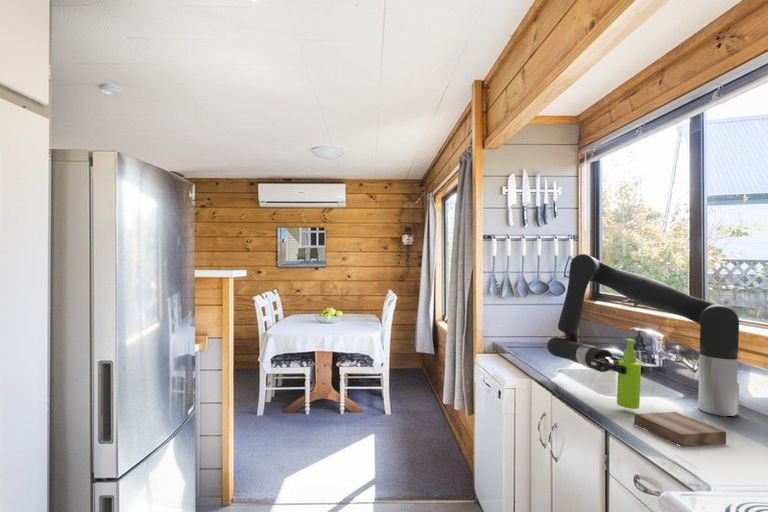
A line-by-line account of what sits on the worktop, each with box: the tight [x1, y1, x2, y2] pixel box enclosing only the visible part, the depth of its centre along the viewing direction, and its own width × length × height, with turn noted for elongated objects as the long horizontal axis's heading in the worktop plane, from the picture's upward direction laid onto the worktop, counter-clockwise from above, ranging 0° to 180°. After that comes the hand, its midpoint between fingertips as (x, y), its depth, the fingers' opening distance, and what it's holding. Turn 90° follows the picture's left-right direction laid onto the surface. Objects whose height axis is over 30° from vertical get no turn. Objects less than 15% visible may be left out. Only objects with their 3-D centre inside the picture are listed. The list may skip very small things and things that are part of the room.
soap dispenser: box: [616, 337, 642, 410], centre depth 126 cm, size 6×7×20 cm
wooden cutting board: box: [633, 411, 727, 447], centre depth 109 cm, size 14×14×3 cm
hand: (634, 370), depth 123 cm, fingers closed on soap dispenser, 6 cm apart
